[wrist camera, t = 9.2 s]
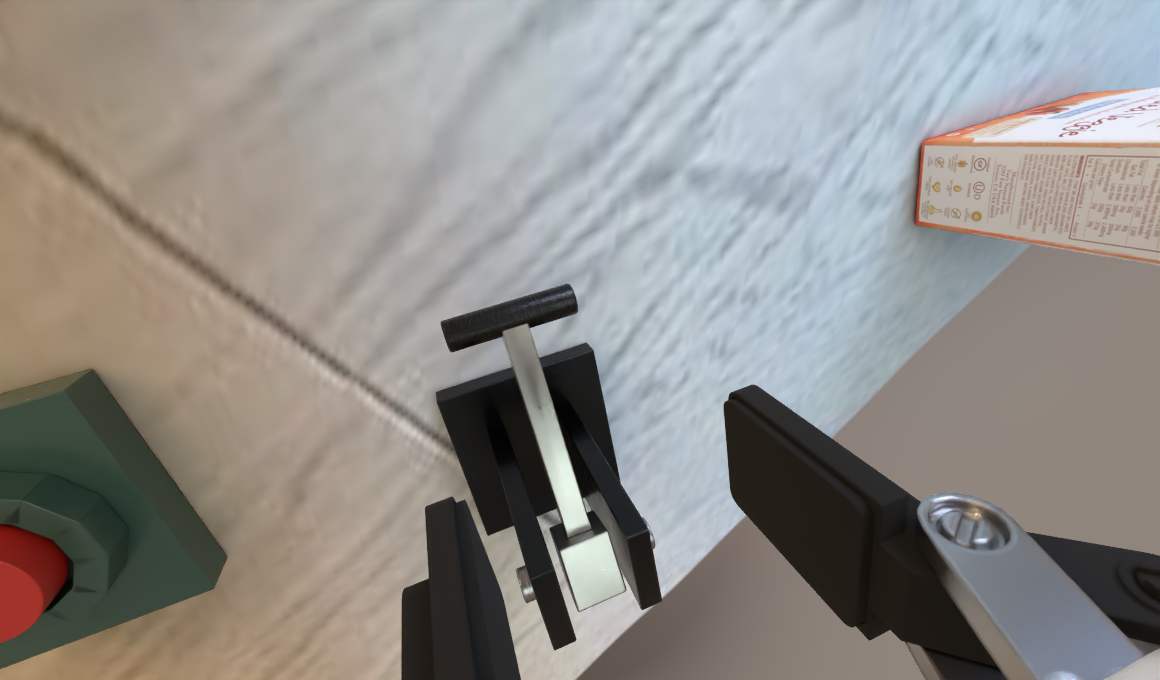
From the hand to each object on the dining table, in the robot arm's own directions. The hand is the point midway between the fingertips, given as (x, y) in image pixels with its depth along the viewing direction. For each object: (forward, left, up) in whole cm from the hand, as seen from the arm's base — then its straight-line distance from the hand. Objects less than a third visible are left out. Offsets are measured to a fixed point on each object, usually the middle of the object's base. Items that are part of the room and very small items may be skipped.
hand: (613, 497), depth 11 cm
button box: (-7, -22, -18) cm, 29 cm away
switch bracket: (+9, -5, -18) cm, 20 cm away
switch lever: (+5, -3, -10) cm, 12 cm away
